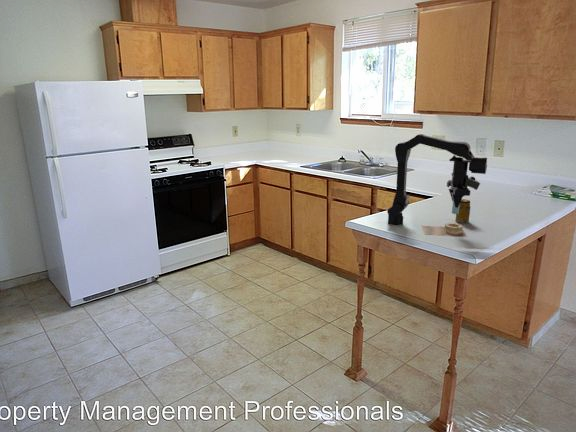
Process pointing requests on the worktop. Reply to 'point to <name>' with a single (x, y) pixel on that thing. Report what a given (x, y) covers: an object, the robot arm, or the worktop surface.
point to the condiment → (463, 212)
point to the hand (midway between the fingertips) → (455, 206)
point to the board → (439, 231)
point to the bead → (453, 228)
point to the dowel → (455, 209)
